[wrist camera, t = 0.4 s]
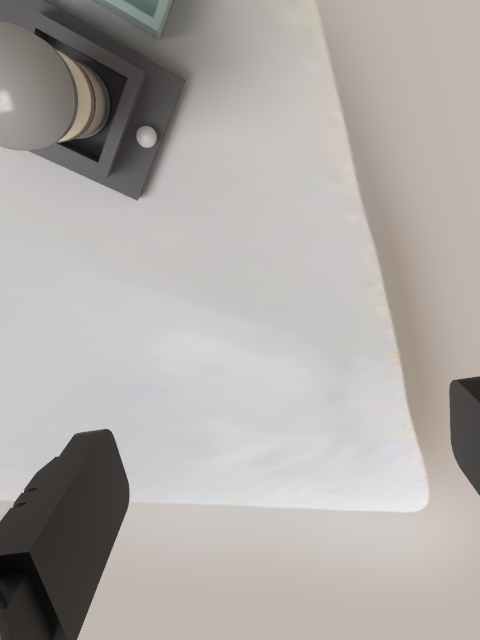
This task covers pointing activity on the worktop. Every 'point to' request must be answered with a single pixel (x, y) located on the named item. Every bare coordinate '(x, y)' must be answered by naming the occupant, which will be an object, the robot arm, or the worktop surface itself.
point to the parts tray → (141, 13)
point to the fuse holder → (126, 93)
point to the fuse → (46, 93)
